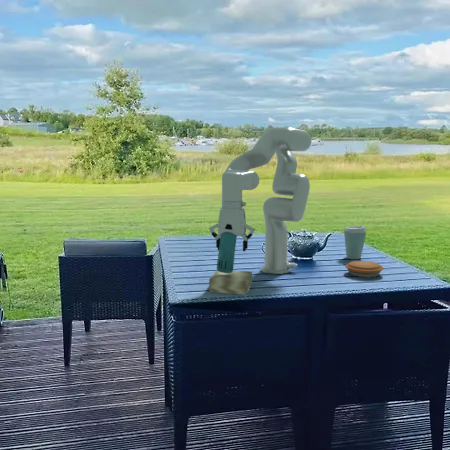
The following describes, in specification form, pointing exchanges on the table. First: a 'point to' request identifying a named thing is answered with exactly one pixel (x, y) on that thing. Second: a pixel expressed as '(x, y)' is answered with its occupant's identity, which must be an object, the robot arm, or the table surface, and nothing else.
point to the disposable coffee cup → (354, 241)
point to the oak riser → (230, 282)
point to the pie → (364, 268)
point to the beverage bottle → (226, 251)
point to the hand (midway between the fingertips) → (231, 250)
